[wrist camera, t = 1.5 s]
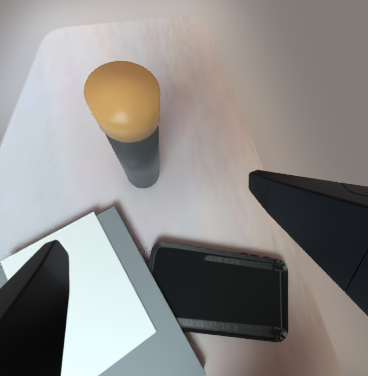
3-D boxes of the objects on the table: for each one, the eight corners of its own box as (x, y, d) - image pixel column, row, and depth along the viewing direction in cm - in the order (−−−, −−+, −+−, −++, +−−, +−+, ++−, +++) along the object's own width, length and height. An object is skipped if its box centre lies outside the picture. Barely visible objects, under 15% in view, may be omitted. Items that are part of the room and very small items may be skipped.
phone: (288, 343, 19) (137, 326, 18) (281, 337, 20) (138, 321, 19) (287, 259, 21) (153, 239, 20) (281, 258, 22) (153, 239, 21)
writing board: (203, 368, 18) (205, 375, 17) (81, 474, 15) (76, 488, 14) (113, 203, 21) (111, 201, 20) (-4, 266, 18) (-12, 267, 17)
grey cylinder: (165, 179, 22) (173, 104, 10) (136, 194, 22) (105, 134, 9) (149, 153, 23) (138, 52, 11) (120, 167, 22) (71, 75, 10)
